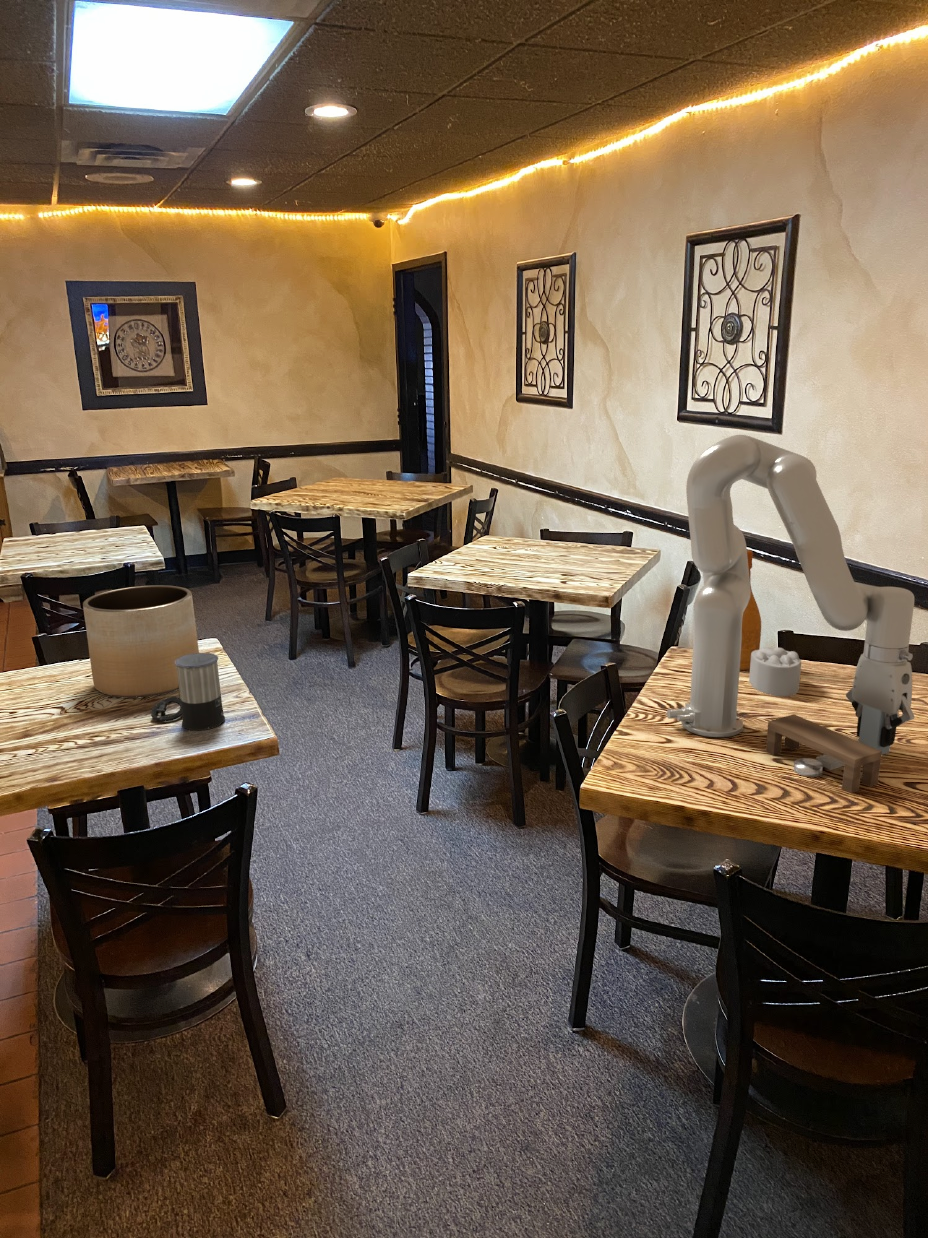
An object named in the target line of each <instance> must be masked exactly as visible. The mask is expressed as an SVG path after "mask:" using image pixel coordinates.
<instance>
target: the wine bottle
mask: <svg viewBox="0 0 928 1238" xmlns="http://www.w3.org/2000/svg"><path fill="white" fill-rule="evenodd" d="M753 557H754V553H753V551H752V550H751V549H748V548H747V558H748V568H749V578H750V580H751V575H752V572H751V569H752V568H753V559H754V558H753ZM750 589H751V594H750V600H749V603H748V605H747V607H746V608H745V610H744V612H743V617H742V639H741V656H740V658H741V659H740V671H748V670H749V671H750V663H751V653H752V652H753V651H755V650H759V649H761V647H760V646H761V636H762V619H761V618H762V617H761V614H760V609H759V605H758V604H757V601H756V598H755V596H754V594H753V590H752V584H751V581H750Z"/></svg>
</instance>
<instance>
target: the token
mask: <svg viewBox="0 0 928 1238" xmlns="http://www.w3.org/2000/svg"><path fill="white" fill-rule="evenodd" d="M823 768H824V767H823V765H822V763H821V762H819V761H817V760H816V759H813V758H809V757H808V758H805V757H803V758H797V759H796V760H794V762H793V771H794V772H795V773H796V774H798V775H799V776H803V777H809V778H816V777H818V778H819V777H820V776H822V775H823V771H824V770H823Z"/></svg>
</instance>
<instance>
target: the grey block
mask: <svg viewBox="0 0 928 1238" xmlns="http://www.w3.org/2000/svg"><path fill="white" fill-rule="evenodd" d="M891 717H892V715H891ZM883 727H885V720H884V712H882V711H880V710H877V709H875V708H872V707H869V706H867V705H864V704H863V709H862V718H861V726H860V735H859V737H858V741H859V742H861V743H863V744H866V745H868V746H871V747H873V748H875V749H878V750H880V751H882V755H881V756H883V755H886V754H889V753H890V751H891V750H890V749H891V745H890V746H887V747H881V746H880V739H881V731H882V728H883ZM815 760H817V761H819V762H821V763H822V765H823V768H826V769H828V770H830V771H833V770H835V769H838V768H842V767H844V764H845V763H843V762H841V761H839V760H836V759H834V758H832V757H830V756H828V755H825V754H822V755H818V756H816V758H815Z"/></svg>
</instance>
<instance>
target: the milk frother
mask: <svg viewBox="0 0 928 1238" xmlns="http://www.w3.org/2000/svg"><path fill="white" fill-rule="evenodd" d="M218 660H219V656H218V655H217V654H215V653H210V652H199V653H195V654H189V655H185V656H182V657H180V658H178V659H176V661H175V665H177V673H178V682H179V690H178V691H179V696H180V697H179V696H171V697H169V696H168V697H167V698H164V699H162V700H159V701H158V702H157V703H156V704H155V705H154V706H153V707H152V708H151V710H150V716H151V718H152V719H153V720H155V721H157V722H171V721H175V720H177V719H179V718H180V717H182V718H181V719H182V721H181V726H182V727H183V728H184V729H186V730H191V731H205V730H209V729H208V728H210V729H213V727H214V728H217V727H218V726H217V725H219V726H221V725H222V724H223V723H224V722H225V721H224V720H226V717H225V715H224V709H223V702H222V701H223V699H222V692H221V682H220V674H219V673H220V672H219V666H218ZM170 704H176V705H178V706H179V710H178V711H177V712H175V713H173V714H170V715H166V712H167V707H168V705H170ZM222 722H223V723H222ZM221 723H222V724H221ZM220 724H221V725H220ZM216 726H217V727H216Z"/></svg>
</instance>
